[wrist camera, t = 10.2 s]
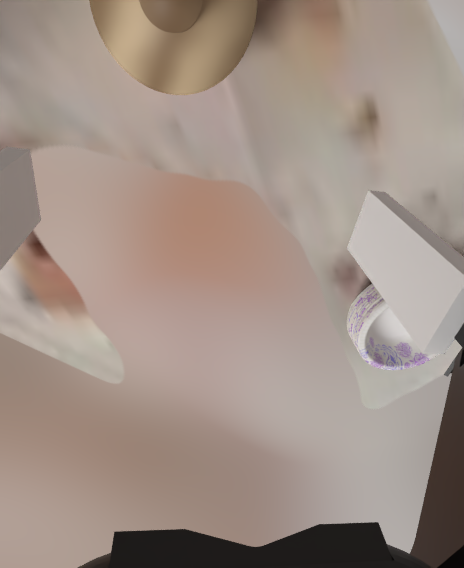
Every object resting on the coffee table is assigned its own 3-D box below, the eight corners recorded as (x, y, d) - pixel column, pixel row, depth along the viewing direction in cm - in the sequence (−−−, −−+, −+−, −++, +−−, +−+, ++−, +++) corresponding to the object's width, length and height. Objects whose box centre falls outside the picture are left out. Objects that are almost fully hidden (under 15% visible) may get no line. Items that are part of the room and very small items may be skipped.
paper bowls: (447, 253, 53) (483, 284, 46) (421, 331, 62) (448, 366, 55) (345, 262, 52) (367, 295, 46) (333, 339, 61) (350, 376, 54)
